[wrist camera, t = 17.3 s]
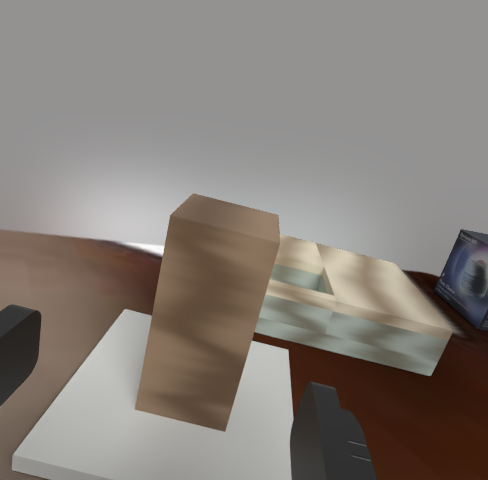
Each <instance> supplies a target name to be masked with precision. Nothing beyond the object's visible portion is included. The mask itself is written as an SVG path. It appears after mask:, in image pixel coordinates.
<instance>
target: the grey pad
mask: <svg viewBox="0 0 488 480" xmlns="http://www.w3.org/2000/svg"><path fill="white" fill-rule="evenodd" d="M151 319H152V316H151V315H147V314H143V313H139V312H135V311H131V310H127V309H124V311H123V312H122V313H121V315H120V316H119V317H118V319H117V320H116V321H115V322H114V324H113V325H112V326H111V328H110V329H109V330H108V332H107V333H106V334H105V335H104V337H103V338H102V339H101V341H100V342H99V343H98V345H97V346H96V347H95V348H94V350H93V351H92V352H91V354H90V355H89V356H88V358H87V359H86V360H85V361H84V363H83V364H82V365H81V367H80V368H79V369H78V370H77V372H76V373H75V374H74V376H73V377H72V378H71V380H70V381H69V382H68V383H67V385H66V386H65V387H64V389H63V390H62V391H61V393H60V394H59V395H58V396H57V398H56V399H55V400H54V402H53V403H52V404H51V406H50V407H49V408H48V409H47V411H46V412H45V413H44V415H43V416H42V417H41V419H40V420H39V421H38V422H37V424H36V425H35V426H34V428H33V429H32V430H31V432H30V433H29V434H28V435H27V437H26V438H25V439H24V441H23V442H22V443H21V445H20V446H19V447H18V448H17V450H16V451H15V452H14V454H13V456H12V470H13V471H17V472H21V473H25V474H29V475H34V476H38V477H42V478H46V479H50V480H292V477H291V459H290V434H291V428H292V424H293V408H292V394H291V381H290V367H289V354H288V350H286V349H282V348H278V347H275V346H271V345H267V344H263V343H259V342H255V341H252V342H251V345H250V349H249V352H248V356H247V359H246V362H245V366H244V369H243V373H242V376H241V380H240V383H239V386H238V390H237V393H236V397H235V400H234V404H233V407H232V410H231V414H230V417H229V421H228V424H227V428H226V431H225V432H223V431H219V430H215V429H211V428H207V427H203V426H199V425H195V424H191V423H187V422H183V421H179V420H175V419H171V418H167V417H163V416H159V415H155V414H151V413H147V412H143V411H139V410H135V406H136V401H137V395H138V390H139V384H140V379H141V373H142V368H143V362H144V357H145V352H146V346H147V341H148V335H149V330H150V324H151Z"/></svg>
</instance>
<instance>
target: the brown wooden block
mask: <svg viewBox="0 0 488 480" xmlns="http://www.w3.org/2000/svg"><path fill="white" fill-rule="evenodd" d="M279 246H280V232H279V218H278V215H276V214H272V213H268V212H264V211H260V210H256V209H252V208H249V207H245V206H240V205H237V204H232V203H228V202H225V201H221V200H217V199H213V198H209V197H205V196H201V195H197V194H192V195H191V196H190V197H189V198H188V199H187V200H186V201H185V202H184V203H183V204H182V205H181V206H180V207H179V208H177V209H176V210H175V211H174V212H173V213H172V214H171V215H170V220H169V226H168V231H167V237H166V242H165V248H164V253H163V259H162V264H161V270H160V275H159V280H158V286H157V291H156V297H155V302H154V308H153V313H152V319H151V324H150V330H149V335H148V341H147V346H146V352H145V357H144V362H143V368H142V373H141V379H140V384H139V390H138V395H137V401H136V406H135V410H139V411H143V412H147V413H151V414H155V415H159V416H163V417H167V418H171V419H175V420H179V421H183V422H187V423H191V424H195V425H199V426H203V427H207V428H211V429H215V430H219V431H223V432H225V431H226V428H227V424H228V421H229V417H230V414H231V410H232V407H233V404H234V400H235V397H236V393H237V390H238V386H239V383H240V380H241V376H242V373H243V369H244V366H245V362H246V359H247V356H248V352H249V349H250V345H251V342H252V338H253V335H254V332H255V328H256V325H257V321H258V318H259V314H260V311H261V308H262V304H263V301H264V297H265V294H266V290H267V287H268V284H269V280H270V277H271V273H272V270H273V266H274V263H275V260H276V256H277V253H278V249H279Z"/></svg>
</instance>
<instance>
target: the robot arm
mask: <svg viewBox="0 0 488 480" xmlns="http://www.w3.org/2000/svg"><path fill="white" fill-rule="evenodd" d="M40 328H41V313H40V312H39V311H37V310H33V309H29V308H25V307H21V306H17V305H9V306H7V307H6V308H4V309H3V310H2V311H0V406H1V405H2V404H3V403H4V402H5V401H6V400H7V399H8V398H9V397H10V395H11V394H12V393H13V392H14V391H15V390H16V389H17V388H18V387H19V386H20V385H21V384H22V383H23V382H24V381H25V380H26V379H27V378H28V376H29V375H30V374H31V372H32V371H33V369H34V367H35V365H36V362H37V359H38V354H39V341H40ZM290 459H291V477H292V480H377V477H376V474H375V470H374V467H373V464H372V463H371V457H370V453H369V450H368V448H367V443H366V440H365V436H364V433H363V429H362V427H361V425H360V424H359V422H358V421H357V420H356V418H355V417H354V415H353V414H352V412H351V411H349V410H345V409H341V408H340V403H339V399H338V395H337V391H336V389H335V388H334V387H330V386H326V385H322V384H318V383H314V382H308V384H307V386H306V388H305V391H304V393H303V396H302V399H301V402H300V404H299V407H298V410H297V412H296V415H295V418H294V420H293V424H292V428H291V434H290Z"/></svg>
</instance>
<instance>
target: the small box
mask: <svg viewBox="0 0 488 480" xmlns="http://www.w3.org/2000/svg"><path fill="white" fill-rule="evenodd" d="M434 291H435V292H436V293H437V294H438V295H439V296H440V297H442V298H443V299H444V300H445V301H446V302H447V303H448V304H450V305H451V306H452V307H453V308H454V309H455V310H457V311H458V312H459V313H460V314H461V315H462V316H463V317H464V318H466V319H467V320H468V321H469V322H470V323H471V324H472V325H474V326H475V327H476V328H477V329H480V330H485V331H488V235H487V234H483V233H477V232H473V231H467V230H463V229H461V230H460V233H459V235H458V238H457V240H456V242H455V244H454V247H453V249H452V251H451V253H450V256H449V258H448V260H447V262H446V265H445V267H444V269H443V271H442V273H441V276H440V278H439V280H438V282H437V284H436V287H435V289H434Z"/></svg>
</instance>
